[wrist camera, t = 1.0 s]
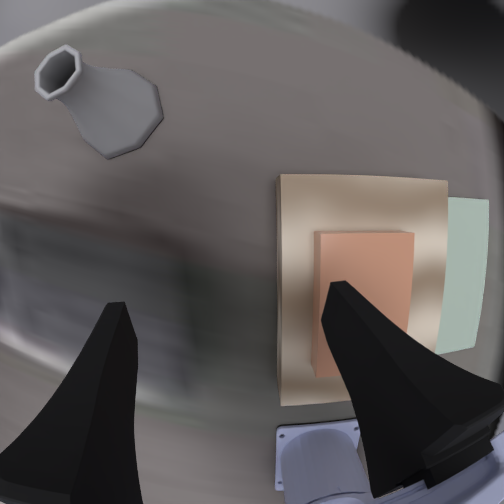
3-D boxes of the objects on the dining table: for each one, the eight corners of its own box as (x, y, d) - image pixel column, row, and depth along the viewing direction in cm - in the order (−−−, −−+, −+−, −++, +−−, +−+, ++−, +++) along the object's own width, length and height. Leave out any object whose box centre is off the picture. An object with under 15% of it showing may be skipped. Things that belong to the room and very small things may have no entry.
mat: (471, 345, 25) (474, 346, 25) (409, 356, 25) (412, 358, 25) (485, 199, 24) (488, 199, 23) (421, 195, 24) (424, 195, 23)
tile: (390, 355, 21) (401, 367, 19) (310, 363, 21) (316, 377, 19) (400, 230, 20) (414, 232, 18) (313, 231, 20) (320, 233, 18)
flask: (180, 120, 23) (138, 70, 13) (105, 175, 23) (30, 162, 13) (137, 57, 22) (87, -5, 12) (69, 110, 22) (-3, 76, 12)
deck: (408, 366, 26) (427, 387, 22) (276, 379, 26) (280, 406, 22) (421, 183, 23) (447, 180, 19) (275, 179, 23) (280, 174, 19)
